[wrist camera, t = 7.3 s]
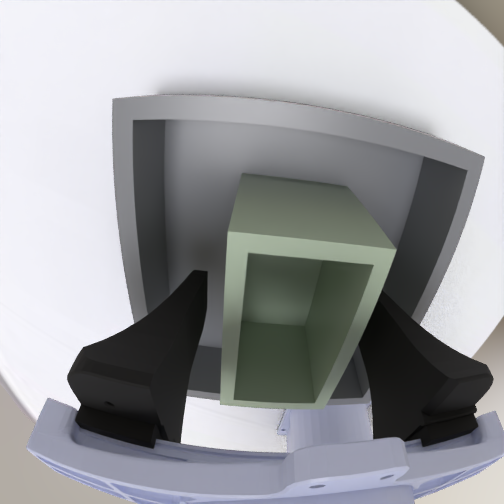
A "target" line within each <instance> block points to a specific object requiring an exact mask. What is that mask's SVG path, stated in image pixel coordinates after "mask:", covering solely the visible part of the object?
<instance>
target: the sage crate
mask: <svg viewBox="0 0 504 504" xmlns="http://www.w3.org/2000/svg"><path fill="white" fill-rule="evenodd" d="M396 250H397V249H396V248H395V247H394V245H393V244H392V242H391V241H390V240H389V238H388V237H387V236H386V234H385V233H384V232H383V230H382V229H381V228H380V226H379V225H378V224H377V222H376V221H375V220H374V218H373V217H372V216H371V215H370V213H369V212H368V211H367V209H366V208H365V207H364V206H363V204H362V203H361V202H360V201H359V199H358V198H357V197H356V196H355V195H354V193H353V192H352V191H351V190H350V189H349V187H348V186H342V185H335V184H329V183H322V182H315V181H307V180H300V179H292V178H284V177H275V176H266V175H256V174H246V173H242V175H241V179H240V183H239V187H238V191H237V195H236V199H235V203H234V208H233V212H232V216H231V220H230V224H229V228H228V236H227V253H226V271H225V290H224V310H223V333H222V359H221V392H220V405H229V406H240V407H253V408H270V409H324V407H325V406H326V404H327V402H328V401H329V399H330V397H331V395H332V393H333V392H334V390H335V388H336V386H337V384H338V382H339V381H340V379H341V377H342V375H343V373H344V371H345V369H346V367H347V365H348V363H349V361H350V359H351V357H352V355H353V353H354V351H355V349H356V347H357V345H358V343H359V341H360V339H361V337H362V334H363V332H364V330H365V328H366V326H367V323H368V321H369V319H370V317H371V314H372V312H373V310H374V307H375V305H376V303H377V300H378V298H379V295H380V293H381V290H382V288H383V285H384V283H385V280H386V278H387V275H388V273H389V270H390V267H391V264H392V262H393V259H394V256H395V253H396Z"/></svg>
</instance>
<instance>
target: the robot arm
mask: <svg viewBox="0 0 504 504" xmlns="http://www.w3.org/2000/svg"><path fill="white" fill-rule="evenodd" d="M207 292H208V271H202V270H193V271H192V272H191V273H190V274H189V275H188V276H187V278H186V279H185V280H184V281H183V282H182V283H181V284H180V285H179V286H178V288H177V289H176V290H175V291H174V292H173V293H172V294H171V295H170V296H169V297H168V298H167V299H165V300H164V301H163V302H162V303H161V304H160V305H159V306H158V307H157V308H155V309H154V310H153V311H152V312H150V313H149V314H148V315H146V316H145V317H144V318H142V319H141V320H139V321H138V322H136V323H135V324H133V325H131V326H130V327H128V328H126V329H125V330H123V331H121V332H119V333H117V334H115V335H113V336H111V337H109V338H107V339H104V340H102V341H99V342H97V343H94V344H91V345H89V346H86V347H83V348H82V350H81V351H80V353H79V354H78V356H77V358H76V359H75V361H74V363H73V365H72V367H71V369H70V371H69V373H68V375H67V380H68V383H69V385H70V387H71V389H72V391H73V392H74V394H75V395H76V397H77V398H78V400H79V401H80V403H81V406H80V409H79V411H77V410H76V409H75V408H73V407H71V406H69V405H67V404H64V403H61V402H59V401H56V400H54V399H51V398H47V400H46V402H45V405H44V407H43V409H42V411H41V413H40V415H39V418H38V420H37V422H36V424H35V427H34V429H33V431H32V434H31V436H30V439H29V441H28V443H27V446H26V448H27V450H28V451H29V452H31V453H32V454H33V455H34V456H36V457H37V458H38V459H40V460H41V461H42V462H43V463H45V464H46V465H47V466H48V467H50V468H51V469H53V470H54V471H56V472H57V473H60V474H62V475H64V476H66V477H68V478H71V479H73V480H75V481H78V482H80V483H82V484H85V485H87V486H90V487H92V488H95V489H97V490H100V491H102V492H105V493H108V494H111V495H113V496H116V497H119V498H122V499H125V500H128V501H131V502H134V503H138V504H415V503H414V500H415V499H418V498H421V497H424V496H426V495H429V494H432V493H434V492H437V491H439V490H442V489H444V488H447V487H449V486H452V485H454V484H456V483H459V482H461V481H463V480H465V479H468V478H470V477H472V476H474V475H476V474H478V473H480V472H481V471H483V470H484V469H486V468H487V467H489V466H490V465H492V464H493V463H495V462H496V461H497V460H499V459H500V458H502V457H503V456H504V430H503V428H502V425H501V423H500V420H499V418H498V415H497V413H496V411H492V412H489V413H486V414H483V415H481V416H479V417H477V418H475V416H474V413H475V412H476V411H477V408H476V406H475V404H476V403H477V402H478V401H479V400H480V399H481V398H482V397H483V396H484V394H485V393H486V392H487V391H488V390H489V389H490V387H491V385H492V383H493V376H492V374H491V372H490V370H489V368H488V367H487V365H486V364H483V363H481V362H478V361H476V360H474V359H471V358H469V357H467V356H465V355H463V354H461V353H459V352H457V351H456V350H454V349H452V348H450V347H449V346H447V345H446V344H444V343H443V342H441V341H440V340H438V339H437V338H435V337H434V336H433V335H431V334H430V333H429V332H427V331H426V330H425V329H424V328H422V327H421V326H420V325H419V324H418V323H417V322H416V321H414V320H413V319H412V318H411V317H410V316H409V315H408V314H407V313H406V312H405V311H404V310H403V309H401V308H400V307H399V306H398V305H397V304H396V303H395V302H394V301H393V300H392V299H391V298H390V297H389V296H388V295H387V294H386V293H385V292H384V291H383V290H381V293H380V295H379V298H378V300H377V303H376V305H375V307H374V310H373V312H372V314H371V317H370V319H369V321H368V323H367V326H366V328H365V330H364V332H363V334H362V337H361V339H360V341H359V343H358V345H359V348H360V352H361V355H362V359H363V362H364V366H365V369H366V373H367V377H368V381H369V387H370V395H371V401H370V403H367V404H350V405H326V406H325V407H324V409H286V410H285V413H284V415H283V418H282V420H281V423H280V425H279V427H278V430H277V434H278V435H287V453H272V452H249V451H236V450H225V449H215V448H207V447H200V446H193V445H187V444H181V443H180V442H181V433H182V425H183V417H184V410H185V403H186V396H187V390H188V384H189V378H190V373H191V369H192V365H193V361H194V358H195V355H196V351H197V348H198V345H199V341H200V338H201V335H202V331H203V328H204V324H205V318H206V312H207ZM370 404H372V415H373V435H372V430H371V425H370V421H369V416H368V411H367V408H368V407H369V406H370Z"/></svg>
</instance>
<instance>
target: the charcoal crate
mask: <svg viewBox="0 0 504 504" xmlns="http://www.w3.org/2000/svg"><path fill="white" fill-rule="evenodd" d="M112 142H113V169H114V186H115V199H116V210H117V219H118V228H119V237H120V244H121V252H122V258H123V265H124V271H125V277H126V283H127V289H128V294H129V299H130V304H131V309H132V314H133V319H134V323H136V322H138V321H139V320H141V319H142V318H144V317H145V316H146V315H148V314H149V313H150V312H152V311H153V310H154V309H155V308H157V307H158V306H159V305H160V304H161V303H162V302H163V301H164V300H165V299H167V298H168V297H169V296H170V295H171V294H172V293H173V292H174V291H175V290H176V289H177V288H178V286H179V285H180V284H181V283H182V282H183V281H184V280H185V279H186V278H187V276H188V275H189V274H190V273H191V272H192V271H193V270H202V271H208V292H207V312H206V318H205V324H204V328H203V331H202V335H201V338H200V341H199V345H198V348H197V351H196V355H195V358H194V361H193V365H192V369H191V373H190V378H189V384H188V390H187V396H190V397H197V398H205V399H212V400H220V392H221V359H222V333H223V310H224V290H225V271H226V253H227V236H228V228H229V224H230V220H231V216H232V212H233V208H234V203H235V199H236V195H237V191H238V187H239V183H240V179H241V175H242V173H246V174H256V175H266V176H275V177H284V178H292V179H300V180H307V181H315V182H322V183H329V184H335V185H342V186H348V187H349V189H350V190H351V191H352V192H353V193H354V195H355V196H356V197H357V198H358V199H359V201H360V202H361V203H362V204H363V206H364V207H365V208H366V209H367V211H368V212H369V213H370V215H371V216H372V217H373V218H374V220H375V221H376V222H377V224H378V225H379V226H380V228H381V229H382V230H383V232H384V233H385V234H386V236H387V237H388V238H389V240H390V241H391V242H392V244H393V245H394V247H395V248H396V249H397V250H396V253H395V256H394V259H393V262H392V264H391V267H390V270H389V273H388V275H387V278H386V280H385V283H384V285H383V288H382V290H383V291H384V292H385V293H386V294H387V295H388V296H389V297H390V298H391V299H392V300H393V301H394V302H395V303H396V304H397V305H398V306H399V307H400V308H401V309H403V310H404V311H405V312H406V313H407V314H408V315H409V316H410V317H411V318H412V319H413V320H414V321H416V322H417V323H418V324H419V325H420V323H421V321H422V320H423V318H424V316H425V314H426V312H427V310H428V308H429V306H430V304H431V302H432V300H433V298H434V296H435V294H436V292H437V290H438V288H439V286H440V284H441V282H442V280H443V278H444V275H445V273H446V271H447V269H448V266H449V264H450V262H451V259H452V257H453V255H454V252H455V250H456V247H457V245H458V242H459V239H460V237H461V234H462V232H463V229H464V226H465V223H466V220H467V218H468V215H469V212H470V209H471V205H472V202H473V199H474V196H475V193H476V189H477V186H478V182H479V179H480V175H481V171H482V167H483V163H484V159H485V157H484V156H482V155H480V154H477V153H475V152H473V151H470V150H468V149H466V148H463V147H461V146H459V145H456V144H454V143H451V142H448V141H446V140H443V139H441V138H438V137H435V136H432V135H429V134H426V133H423V132H420V131H417V130H414V129H411V128H407V127H404V126H401V125H397V124H394V123H390V122H386V121H382V120H379V119H375V118H371V117H366V116H362V115H358V114H353V113H349V112H344V111H339V110H334V109H329V108H324V107H318V106H312V105H306V104H300V103H293V102H285V101H277V100H269V99H259V98H249V97H236V96H219V95H147V96H135V97H124V98H115V99H113V107H112ZM370 401H371V395H370V387H369V381H368V377H367V373H366V369H365V366H364V362H363V359H362V355H361V352H360V348H359V345H357V347H356V349H355V351H354V353H353V355H352V357H351V359H350V361H349V363H348V365H347V367H346V369H345V371H344V373H343V375H342V377H341V379H340V381H339V382H338V384H337V386H336V388H335V390H334V392H333V393H332V395H331V397H330V399H329V401H328V402H327V404H326V405H350V404H367V403H370Z"/></svg>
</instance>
